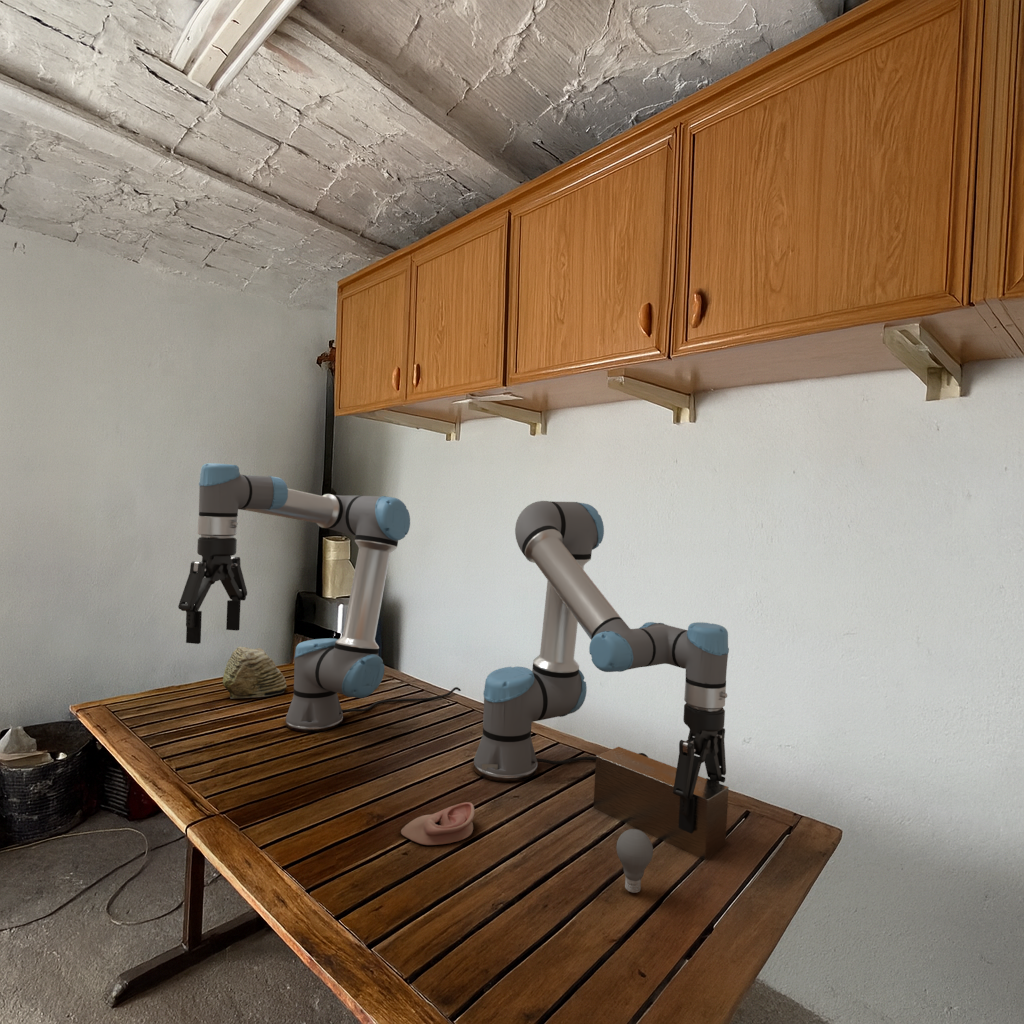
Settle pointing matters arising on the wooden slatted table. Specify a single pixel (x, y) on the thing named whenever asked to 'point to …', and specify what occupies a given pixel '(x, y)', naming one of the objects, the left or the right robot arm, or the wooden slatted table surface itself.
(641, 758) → the box
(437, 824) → the anatomical model
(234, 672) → the fossil
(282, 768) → the wooden slatted table surface
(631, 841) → the light bulb
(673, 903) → the wooden slatted table surface
